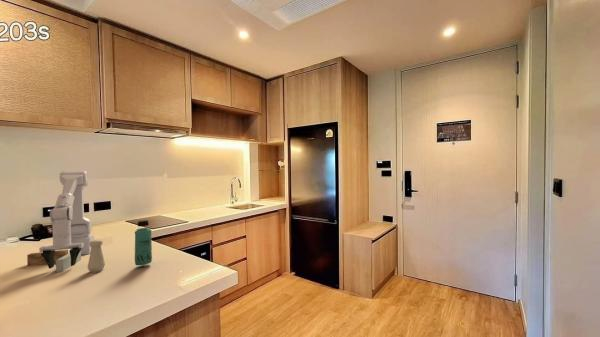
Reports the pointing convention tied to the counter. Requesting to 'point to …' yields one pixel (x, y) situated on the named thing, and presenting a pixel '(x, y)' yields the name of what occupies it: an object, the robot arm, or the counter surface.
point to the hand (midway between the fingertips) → (62, 266)
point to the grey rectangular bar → (65, 262)
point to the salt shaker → (96, 257)
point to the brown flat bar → (38, 259)
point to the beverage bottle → (143, 244)
